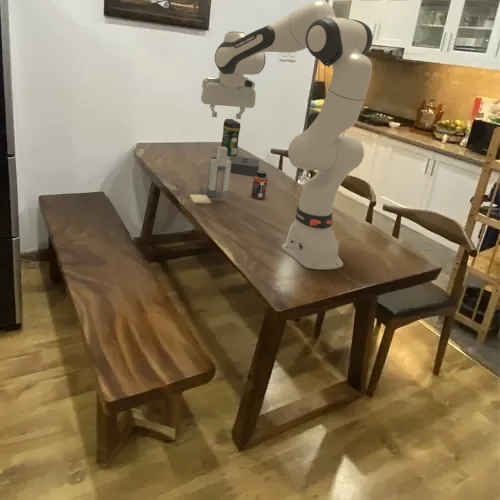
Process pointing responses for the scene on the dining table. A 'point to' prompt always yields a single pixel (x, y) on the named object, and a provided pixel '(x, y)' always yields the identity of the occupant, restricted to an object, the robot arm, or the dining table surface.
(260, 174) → the supplement bottle
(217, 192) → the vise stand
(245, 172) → the streaming box
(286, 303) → the dining table surface
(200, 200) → the felt pad
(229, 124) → the coffee jar
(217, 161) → the pale upright frame
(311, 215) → the robot arm
